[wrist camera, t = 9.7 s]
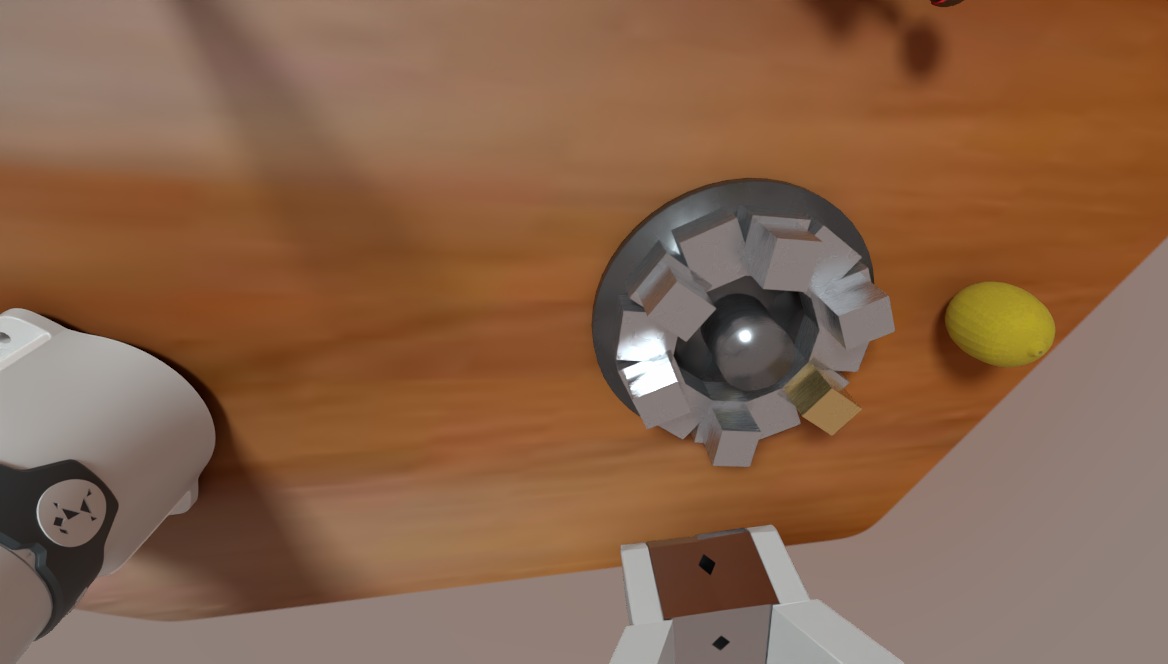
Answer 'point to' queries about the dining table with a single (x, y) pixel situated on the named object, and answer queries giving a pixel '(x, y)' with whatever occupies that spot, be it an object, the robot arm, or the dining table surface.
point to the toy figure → (945, 2)
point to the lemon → (999, 324)
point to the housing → (721, 290)
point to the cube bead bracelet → (681, 305)
